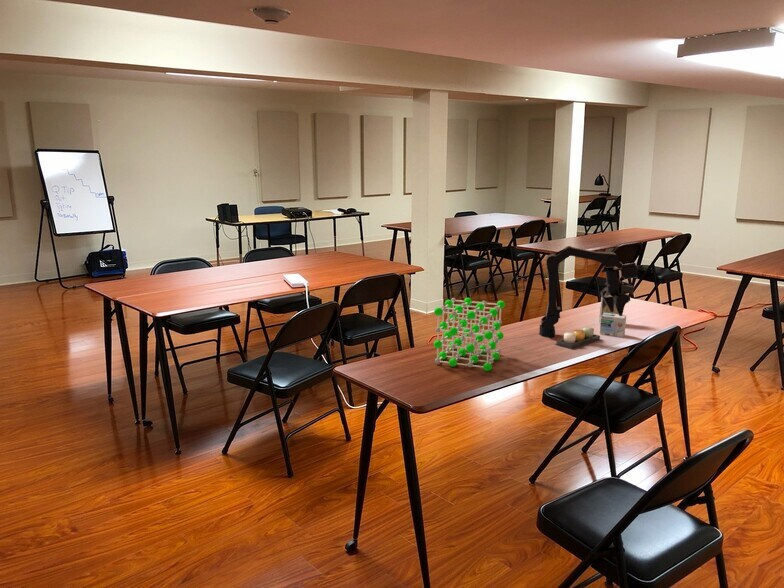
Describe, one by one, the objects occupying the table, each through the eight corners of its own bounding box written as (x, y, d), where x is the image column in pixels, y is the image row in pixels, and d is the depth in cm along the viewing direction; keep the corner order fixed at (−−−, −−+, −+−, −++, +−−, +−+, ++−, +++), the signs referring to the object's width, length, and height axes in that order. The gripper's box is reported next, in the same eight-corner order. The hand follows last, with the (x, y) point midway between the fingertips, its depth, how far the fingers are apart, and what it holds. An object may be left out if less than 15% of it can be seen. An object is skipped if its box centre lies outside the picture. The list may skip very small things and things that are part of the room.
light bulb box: (598, 337, 284) (600, 315, 282) (601, 333, 290) (603, 312, 288) (622, 340, 279) (624, 318, 277) (624, 336, 285) (626, 314, 283)
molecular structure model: (503, 354, 260) (506, 299, 255) (490, 373, 238) (492, 313, 232) (449, 347, 269) (451, 295, 264) (432, 365, 247) (433, 308, 241)
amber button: (570, 338, 272) (571, 331, 271) (577, 336, 275) (577, 329, 274) (580, 341, 268) (580, 333, 267) (586, 339, 271) (587, 331, 270)
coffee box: (599, 324, 306) (602, 293, 302) (598, 321, 312) (601, 291, 308) (619, 325, 303) (621, 294, 300) (617, 322, 310) (620, 292, 306)
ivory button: (561, 341, 268) (561, 333, 267) (567, 339, 271) (568, 331, 270) (570, 344, 264) (571, 336, 263) (577, 342, 267) (578, 334, 266)
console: (553, 347, 269) (553, 340, 268) (583, 338, 283) (583, 331, 282) (572, 353, 261) (573, 345, 261) (602, 343, 275) (602, 336, 275)
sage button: (579, 335, 276) (580, 328, 275) (586, 333, 279) (586, 326, 278) (589, 338, 272) (589, 330, 272) (595, 336, 275) (596, 328, 275)
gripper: (640, 280, 261) (643, 315, 264) (621, 274, 279) (624, 306, 282) (615, 284, 261) (618, 319, 263) (598, 278, 279) (601, 310, 282)
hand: (616, 313), depth 273 cm, fingers open, 9 cm apart
